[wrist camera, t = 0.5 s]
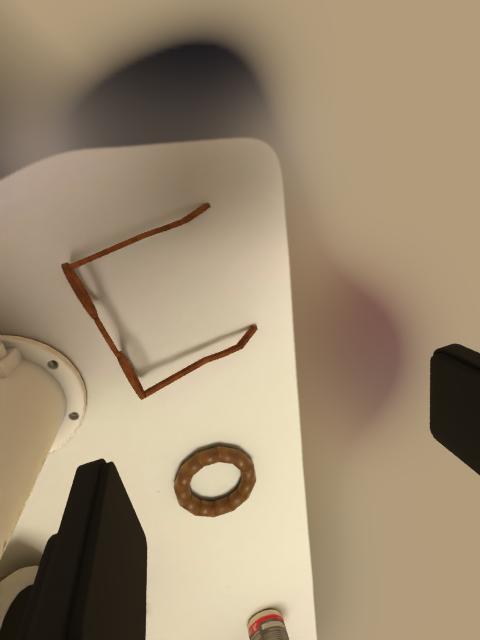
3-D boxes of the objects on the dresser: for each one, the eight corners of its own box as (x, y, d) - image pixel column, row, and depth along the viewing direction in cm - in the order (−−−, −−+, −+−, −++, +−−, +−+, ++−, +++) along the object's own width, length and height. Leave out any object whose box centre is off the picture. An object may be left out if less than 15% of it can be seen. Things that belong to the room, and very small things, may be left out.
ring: (166, 458, 36) (166, 468, 35) (246, 434, 38) (250, 443, 36) (184, 517, 40) (185, 529, 38) (258, 494, 41) (261, 504, 39)
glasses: (65, 261, 28) (46, 272, 23) (207, 202, 29) (217, 201, 24) (138, 383, 33) (135, 412, 28) (257, 329, 34) (273, 348, 29)
